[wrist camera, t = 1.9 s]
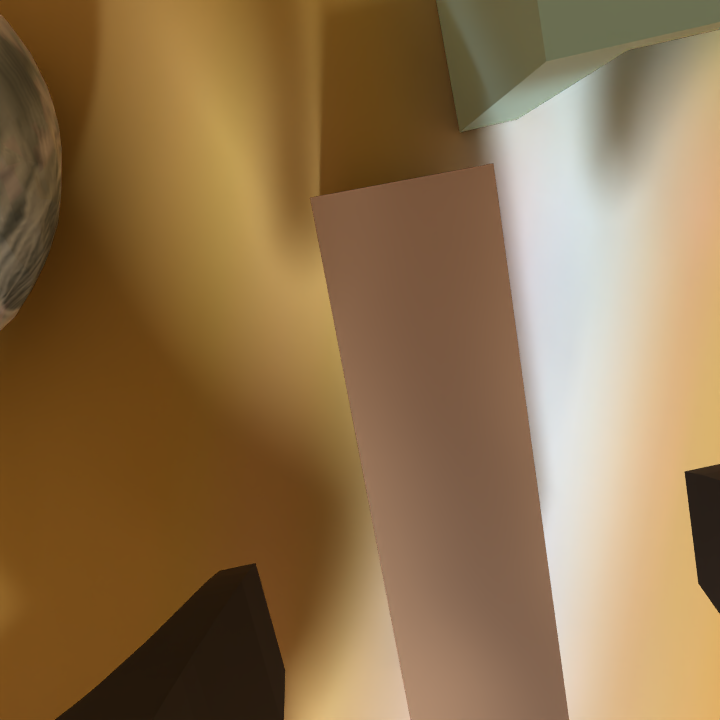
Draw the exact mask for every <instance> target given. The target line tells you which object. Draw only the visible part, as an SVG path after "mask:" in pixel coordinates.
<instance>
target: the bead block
mask: <svg viewBox="0 0 720 720" xmlns="http://www.w3.org/2000/svg"><path fill="white" fill-rule="evenodd" d="M436 3H437V9H438V14H439V20H440V25H441V31H442V36H443V42H444V48H445V53H446V59H447V64H448V70H449V76H450V81H451V87H452V92H453V98H454V103H455V109H456V115H457V120H458V126H459V131H460V132H464V131H468V130H473V129H477V128H481V127H486V126H490V125H495V124H499V123H504V122H508V121H512V120H517V119H519V118H520V117H522V116H523V115H525V114H527V113H528V112H530V111H531V110H533V109H535V108H536V107H538V106H539V105H541V104H543V103H544V102H546V101H547V100H549V99H551V98H552V97H554V96H555V95H557V94H559V93H560V92H562V91H563V90H565V89H567V88H568V87H570V86H571V85H573V84H575V83H576V82H578V81H579V80H581V79H583V78H584V77H586V76H587V75H589V74H591V73H592V72H594V71H595V70H597V69H599V68H600V67H602V66H603V65H605V64H607V63H608V62H610V61H611V60H613V59H615V58H616V57H618V56H620V55H621V54H623V53H624V52H626V51H628V50H631V49H636V48H640V47H645V46H649V45H653V44H658V43H662V42H667V41H671V40H675V39H680V38H684V37H689V36H693V35H697V34H702V33H706V32H711V31H715V30H719V29H720V0H436Z"/></svg>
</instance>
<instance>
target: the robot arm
mask: <svg viewBox="0 0 720 720" xmlns="http://www.w3.org/2000/svg"><path fill="white" fill-rule="evenodd" d="M685 478H686V486H687V495H688V503H689V511H690V519H691V527H692V535H693V543H694V551H695V560H696V568H697V576H698V583H699V585H700V586H701V588H702V589H703V591H704V592H705V593H706V595H707V596H708V598H709V599H710V601H711V602H712V603H713V605H714V606H715V608H716V609H717V611H718V612H719V613H720V464H718V465H713V466H709V467H704V468H699V469H695V470H690V471H685ZM284 698H285V668H284V665H283V661H282V658H281V654H280V650H279V647H278V643H277V639H276V636H275V632H274V629H273V625H272V621H271V618H270V614H269V610H268V607H267V603H266V600H265V596H264V592H263V589H262V585H261V581H260V578H259V574H258V571H257V567H256V563H255V564H250V565H245V566H240V567H236V568H231V569H226V570H222V571H219V572H218V573H217V574H215V575H214V576H213V577H212V578H210V579H209V580H208V581H207V582H206V583H205V584H204V585H203V586H202V587H201V588H200V589H199V590H198V591H197V592H196V593H195V594H194V595H193V596H192V597H191V598H190V599H189V600H188V601H187V602H186V603H185V604H184V605H183V606H182V607H181V608H180V609H179V610H178V611H177V612H176V613H175V614H174V615H173V616H172V617H171V618H170V619H169V620H168V621H167V622H166V623H165V624H164V625H163V626H162V627H161V628H160V629H159V630H158V631H157V632H156V633H155V634H154V635H152V636H151V637H150V638H149V639H148V640H147V641H146V642H145V643H144V644H143V645H142V646H141V647H140V648H139V649H137V650H136V651H135V652H134V653H133V654H132V655H131V656H130V657H129V658H128V659H127V660H125V661H124V662H123V663H122V664H121V665H120V666H119V667H118V668H117V669H116V670H114V671H113V672H112V673H111V674H110V675H109V676H108V677H107V678H106V679H105V680H103V681H102V682H101V683H100V684H99V685H98V686H96V687H95V688H94V689H93V690H92V691H91V692H89V693H88V694H87V695H86V696H84V697H83V698H82V699H81V700H80V701H78V702H77V703H76V704H75V705H73V706H72V707H71V708H70V709H68V710H67V711H66V712H64V713H63V714H62V715H60V716H59V717H58V718H56V719H55V720H284Z"/></svg>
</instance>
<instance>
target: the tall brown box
mask: <svg viewBox="0 0 720 720" xmlns="http://www.w3.org/2000/svg"><path fill="white" fill-rule="evenodd" d="M310 200H311V205H312V210H313V215H314V221H315V226H316V231H317V236H318V241H319V247H320V252H321V257H322V262H323V267H324V273H325V278H326V283H327V288H328V293H329V299H330V304H331V309H332V314H333V319H334V325H335V330H336V335H337V340H338V345H339V351H340V356H341V361H342V366H343V371H344V376H345V382H346V387H347V392H348V397H349V402H350V408H351V413H352V418H353V423H354V428H355V434H356V439H357V444H358V449H359V454H360V460H361V465H362V470H363V475H364V480H365V486H366V491H367V496H368V501H369V506H370V512H371V517H372V522H373V527H374V532H375V537H376V543H377V548H378V553H379V558H380V563H381V569H382V574H383V579H384V584H385V589H386V595H387V600H388V605H389V610H390V615H391V621H392V626H393V631H394V636H395V641H396V647H397V652H398V657H399V662H400V667H401V673H402V678H403V683H404V688H405V693H406V698H407V704H408V709H409V714H410V719H411V720H569V716H568V709H567V701H566V694H565V687H564V679H563V672H562V664H561V657H560V650H559V642H558V635H557V628H556V620H555V613H554V606H553V598H552V591H551V584H550V576H549V569H548V562H547V554H546V547H545V540H544V532H543V525H542V517H541V510H540V503H539V495H538V488H537V481H536V473H535V466H534V459H533V451H532V444H531V437H530V429H529V422H528V415H527V407H526V400H525V393H524V385H523V378H522V370H521V363H520V356H519V348H518V341H517V334H516V326H515V319H514V312H513V304H512V297H511V290H510V282H509V275H508V268H507V260H506V253H505V246H504V238H503V231H502V223H501V216H500V209H499V201H498V194H497V187H496V179H495V172H494V165H493V164H487V165H482V166H477V167H471V168H466V169H461V170H455V171H450V172H445V173H439V174H434V175H429V176H423V177H418V178H413V179H407V180H402V181H397V182H391V183H386V184H381V185H375V186H370V187H365V188H359V189H354V190H348V191H343V192H338V193H332V194H327V195H322V196H316V197H311V198H310Z"/></svg>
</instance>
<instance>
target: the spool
mask: <svg viewBox="0 0 720 720" xmlns="http://www.w3.org/2000/svg"><path fill="white" fill-rule="evenodd" d="M61 178H62V146H61V138H60V130H59V124H58V120H57V117H56V113H55V109H54V105H53V102H52V99H51V96H50V93H49V90H48V87H47V85H46V83H45V81H44V79H43V77H42V75H41V73H40V71H39V69H38V67H37V65H36V63H35V61H34V59H33V57H32V55H31V53H30V51H29V50H28V49H27V47H26V46H25V45H24V43H23V42H22V40H21V39H20V38H19V36H18V35H17V34H16V32H15V31H14V30H13V28H12V27H11V26H10V24H9V23H8V21H7V20H6V19H5V18H4V17H3V16H2V15H1V14H0V331H1V330H2V329H3V328H4V327H5V326H6V325H7V324H8V323H9V322H10V321H11V320H12V319H13V318H14V317H15V316H16V314H17V313H18V311H19V309H20V308H21V306H22V305H23V303H24V301H25V300H26V298H27V297H28V295H29V293H30V292H31V290H32V288H33V286H34V284H35V282H36V280H37V278H38V276H39V274H40V272H41V270H42V268H43V266H44V264H45V262H46V259H47V257H48V254H49V251H50V248H51V245H52V241H53V238H54V235H55V232H56V228H57V225H58V219H59V210H60V200H61Z"/></svg>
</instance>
